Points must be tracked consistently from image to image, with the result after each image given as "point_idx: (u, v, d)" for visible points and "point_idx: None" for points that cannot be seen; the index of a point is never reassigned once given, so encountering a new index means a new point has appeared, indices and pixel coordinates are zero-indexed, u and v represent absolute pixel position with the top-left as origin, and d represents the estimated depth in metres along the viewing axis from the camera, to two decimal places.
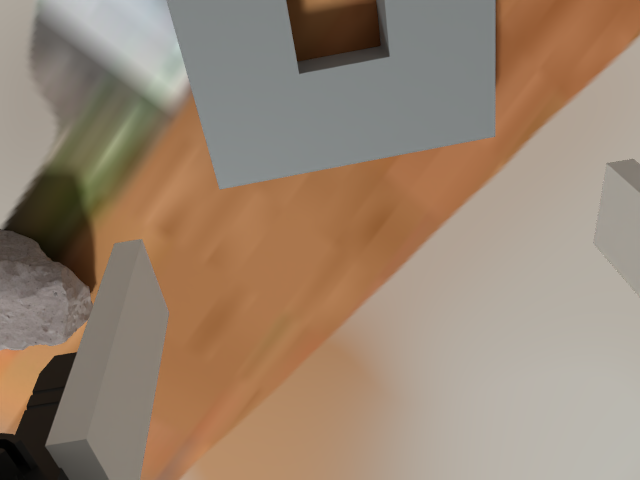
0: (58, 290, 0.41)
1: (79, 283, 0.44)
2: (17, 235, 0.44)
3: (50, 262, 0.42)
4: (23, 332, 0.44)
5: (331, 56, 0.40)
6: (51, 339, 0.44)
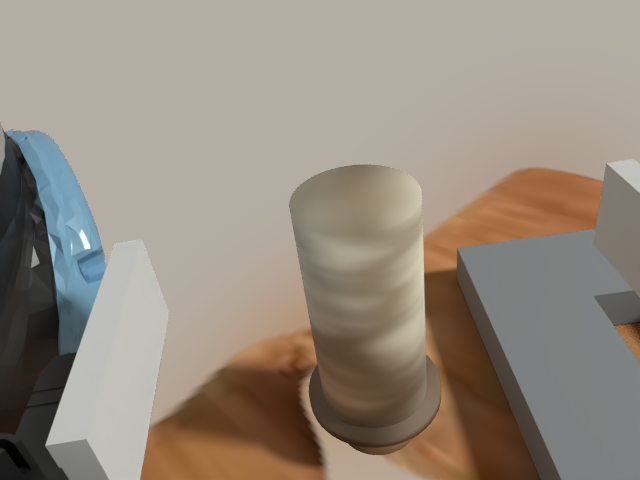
0: None
1: None
2: None
3: None
4: None
5: None
6: None
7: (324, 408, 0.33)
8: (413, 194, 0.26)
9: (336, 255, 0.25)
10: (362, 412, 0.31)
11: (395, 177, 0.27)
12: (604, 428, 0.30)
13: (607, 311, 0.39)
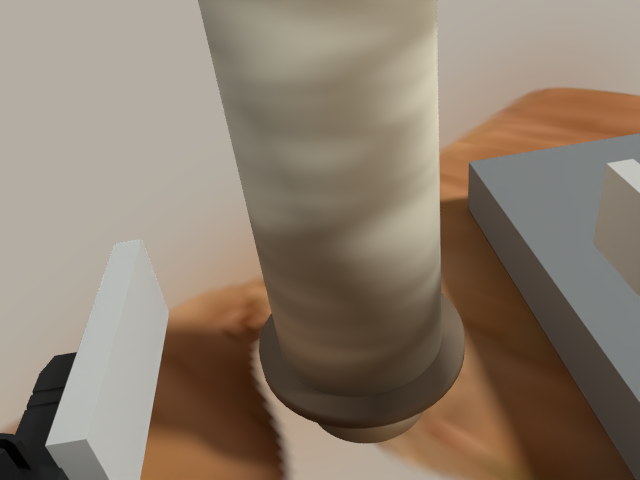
0: None
1: None
2: None
3: None
4: None
5: None
6: None
7: (281, 371, 0.21)
8: None
9: (278, 47, 0.13)
10: (341, 370, 0.19)
11: None
12: None
13: None
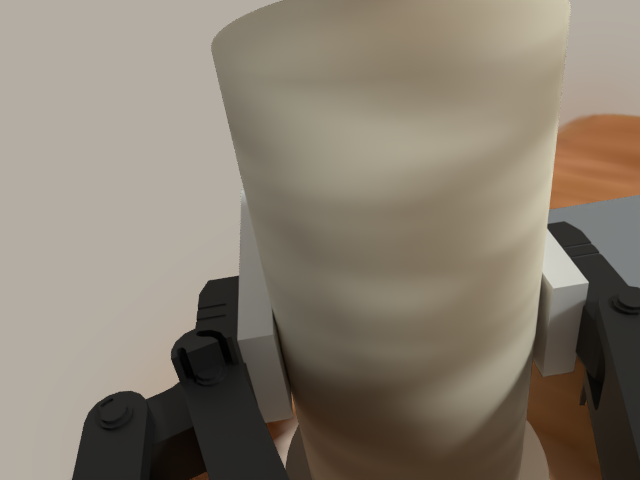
0: None
1: None
2: None
3: None
4: None
5: None
6: None
7: None
8: None
9: (341, 152, 0.08)
10: None
11: None
12: None
13: None
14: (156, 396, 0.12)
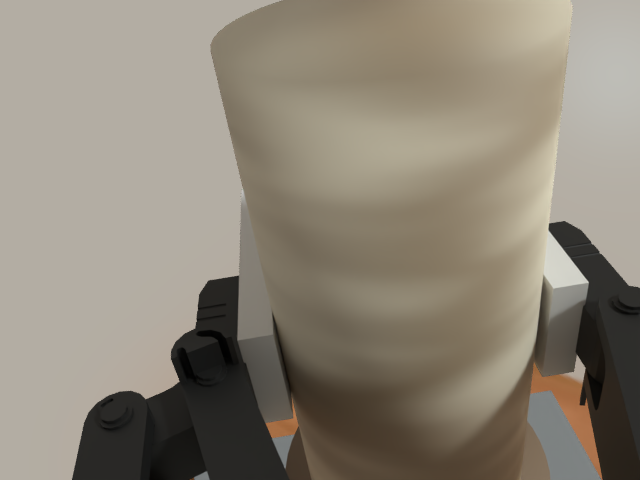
0: None
1: None
2: None
3: None
4: None
5: None
6: None
7: None
8: None
9: (341, 154, 0.08)
10: None
11: None
12: None
13: None
14: (156, 396, 0.12)
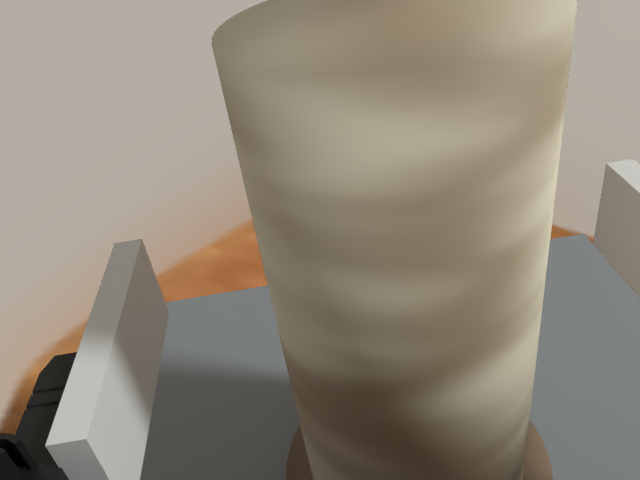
0: None
1: None
2: None
3: None
4: None
5: None
6: None
7: None
8: None
9: (344, 148, 0.08)
10: None
11: None
12: None
13: None
14: None
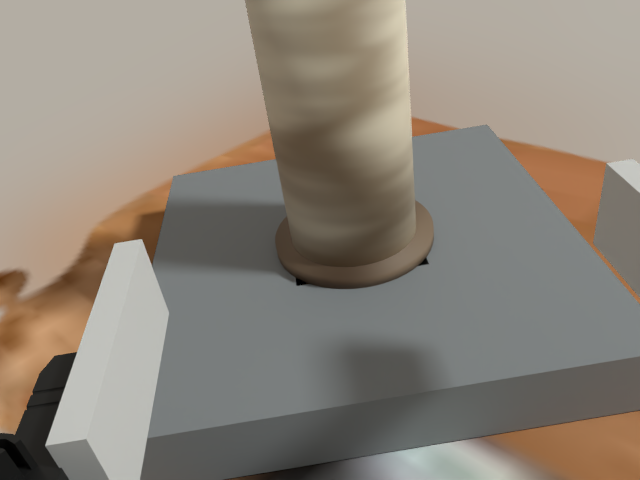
0: None
1: None
2: None
3: None
4: None
5: None
6: None
7: (292, 253, 0.27)
8: None
9: None
10: (337, 243, 0.25)
11: None
12: (207, 359, 0.23)
13: None
14: None
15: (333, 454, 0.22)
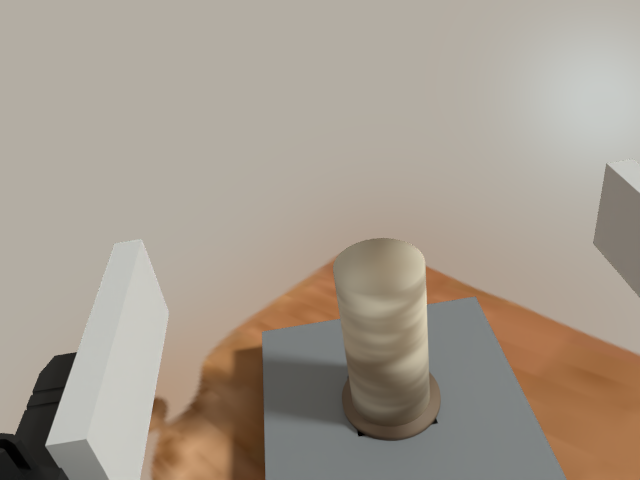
0: None
1: None
2: None
3: None
4: None
5: None
6: None
7: (354, 413, 0.44)
8: (419, 262, 0.38)
9: (368, 307, 0.37)
10: (384, 415, 0.42)
11: (405, 248, 0.39)
12: None
13: None
14: None
15: None
